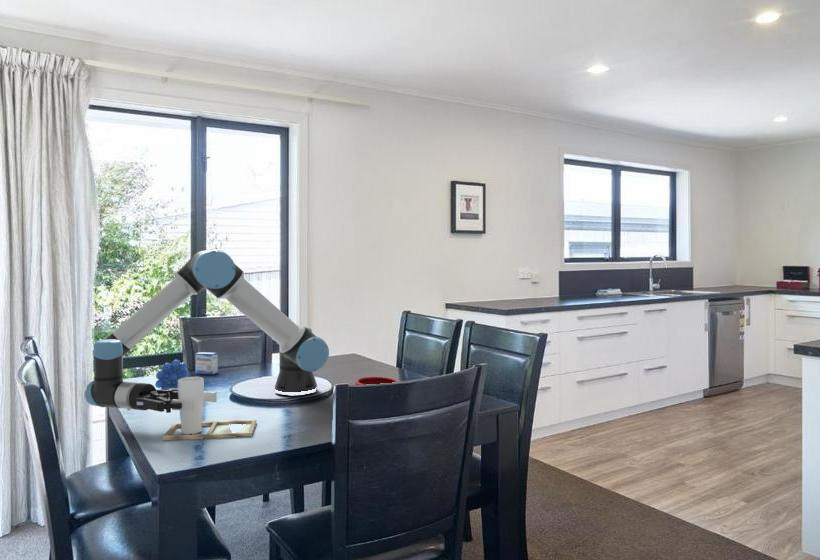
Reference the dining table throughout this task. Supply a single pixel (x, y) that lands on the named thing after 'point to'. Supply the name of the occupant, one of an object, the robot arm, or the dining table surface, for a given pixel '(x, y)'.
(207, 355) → the medicine box
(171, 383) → the grapes
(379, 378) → the plant pot
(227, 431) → the wooden window frame
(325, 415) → the dining table surface
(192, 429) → the drinking glass
